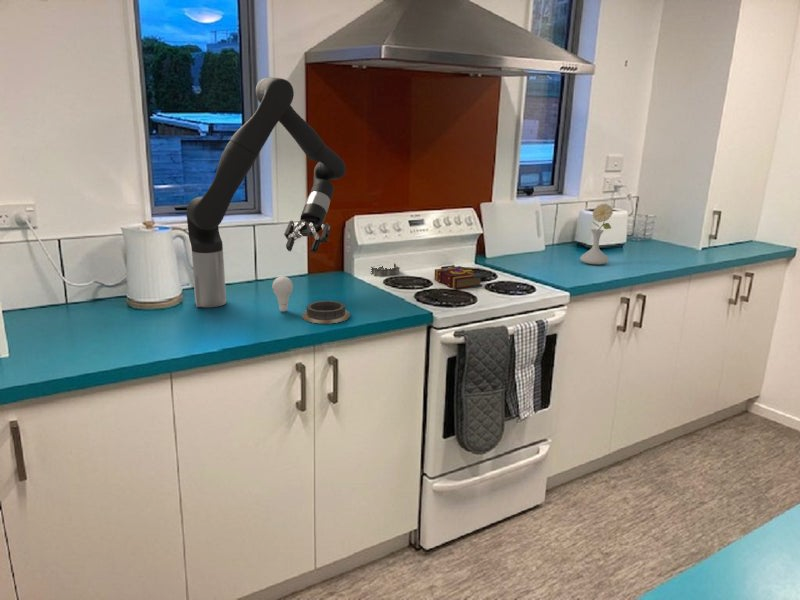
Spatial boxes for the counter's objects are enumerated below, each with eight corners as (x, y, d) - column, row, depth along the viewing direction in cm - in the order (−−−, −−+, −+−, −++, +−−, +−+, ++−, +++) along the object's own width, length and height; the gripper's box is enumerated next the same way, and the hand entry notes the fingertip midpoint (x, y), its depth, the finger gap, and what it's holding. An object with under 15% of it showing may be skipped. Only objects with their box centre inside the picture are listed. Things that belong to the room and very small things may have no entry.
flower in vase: (573, 261, 266) (579, 201, 259) (595, 259, 271) (601, 200, 264) (595, 268, 255) (601, 205, 248) (617, 266, 259) (624, 204, 252)
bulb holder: (308, 326, 182) (307, 315, 181) (297, 312, 195) (297, 301, 194) (355, 321, 187) (355, 310, 186) (342, 307, 199) (342, 297, 198)
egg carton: (394, 271, 247) (394, 260, 246) (401, 275, 241) (401, 265, 239) (368, 273, 243) (368, 262, 242) (374, 277, 237) (374, 267, 235)
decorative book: (455, 291, 221) (455, 277, 220) (431, 280, 235) (432, 266, 233) (482, 287, 226) (483, 273, 225) (458, 276, 240) (458, 263, 238)
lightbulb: (269, 312, 194) (267, 277, 191) (281, 307, 199) (280, 273, 196) (285, 315, 191) (284, 280, 188) (297, 310, 196) (296, 275, 193)
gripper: (292, 201, 207) (275, 242, 200) (332, 203, 202) (316, 246, 195) (300, 214, 213) (285, 255, 206) (339, 217, 209) (325, 259, 202)
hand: (300, 250), depth 201 cm, fingers open, 8 cm apart
